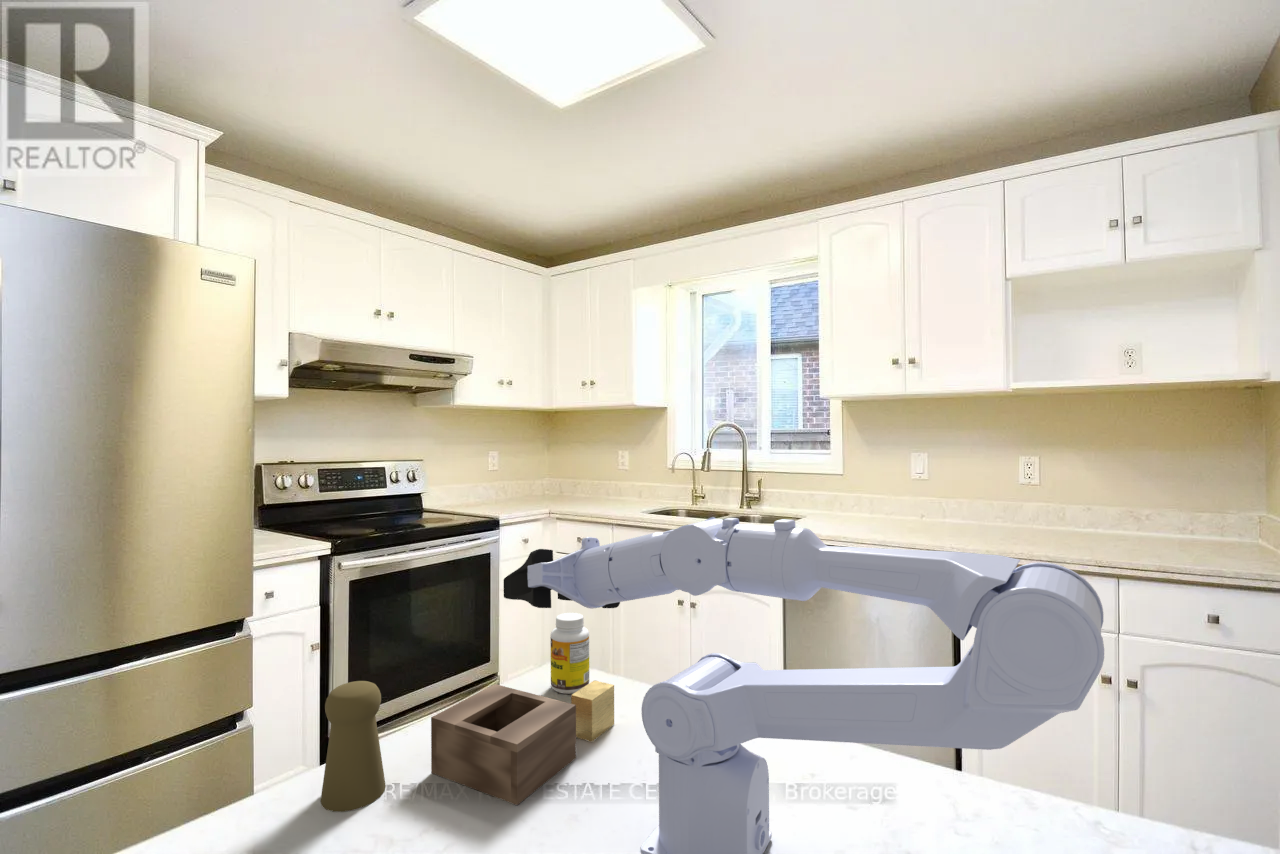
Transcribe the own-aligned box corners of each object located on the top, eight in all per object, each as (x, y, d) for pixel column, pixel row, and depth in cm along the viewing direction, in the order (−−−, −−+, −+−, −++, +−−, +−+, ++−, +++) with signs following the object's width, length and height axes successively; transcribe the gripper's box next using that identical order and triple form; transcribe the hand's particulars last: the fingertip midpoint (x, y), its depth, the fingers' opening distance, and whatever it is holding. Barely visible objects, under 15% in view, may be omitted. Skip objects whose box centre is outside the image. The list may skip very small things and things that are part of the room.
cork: (361, 815, 60) (360, 700, 60) (306, 807, 61) (306, 695, 61) (397, 780, 65) (397, 676, 66) (347, 774, 67) (347, 672, 67)
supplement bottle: (545, 684, 90) (544, 613, 90) (580, 676, 93) (580, 608, 93) (558, 698, 85) (558, 624, 85) (595, 690, 88) (595, 618, 88)
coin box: (576, 758, 70) (575, 704, 70) (517, 805, 61) (516, 744, 61) (495, 733, 75) (495, 684, 76) (431, 773, 67) (431, 717, 67)
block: (614, 724, 78) (614, 684, 78) (592, 742, 73) (592, 700, 73) (594, 719, 79) (594, 680, 79) (571, 736, 75) (571, 694, 75)
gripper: (668, 535, 67) (578, 556, 75) (572, 521, 56) (479, 547, 64) (675, 602, 64) (582, 617, 72) (576, 601, 54) (479, 618, 61)
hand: (533, 589), depth 68 cm, fingers open, 7 cm apart
